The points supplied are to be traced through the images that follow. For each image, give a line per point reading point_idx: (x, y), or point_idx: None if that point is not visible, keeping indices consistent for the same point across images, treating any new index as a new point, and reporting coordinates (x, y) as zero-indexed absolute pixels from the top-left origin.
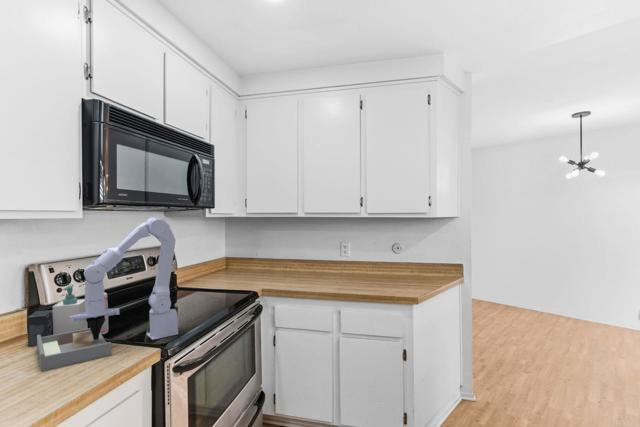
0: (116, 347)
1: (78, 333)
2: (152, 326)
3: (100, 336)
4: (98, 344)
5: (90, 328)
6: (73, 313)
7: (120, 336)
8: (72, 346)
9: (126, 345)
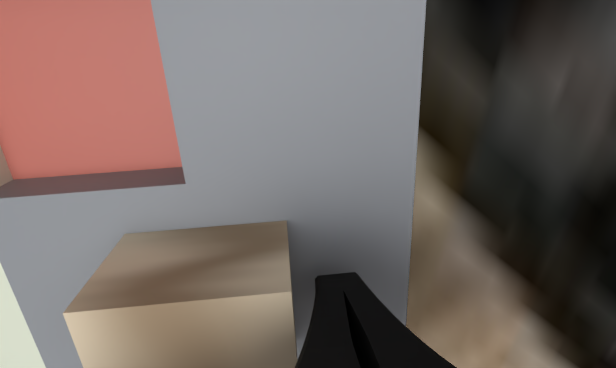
0: (446, 327)
1: (145, 339)
2: None
3: (398, 141)
4: None
5: (300, 366)
6: None
7: (573, 64)
8: None
9: (510, 325)
